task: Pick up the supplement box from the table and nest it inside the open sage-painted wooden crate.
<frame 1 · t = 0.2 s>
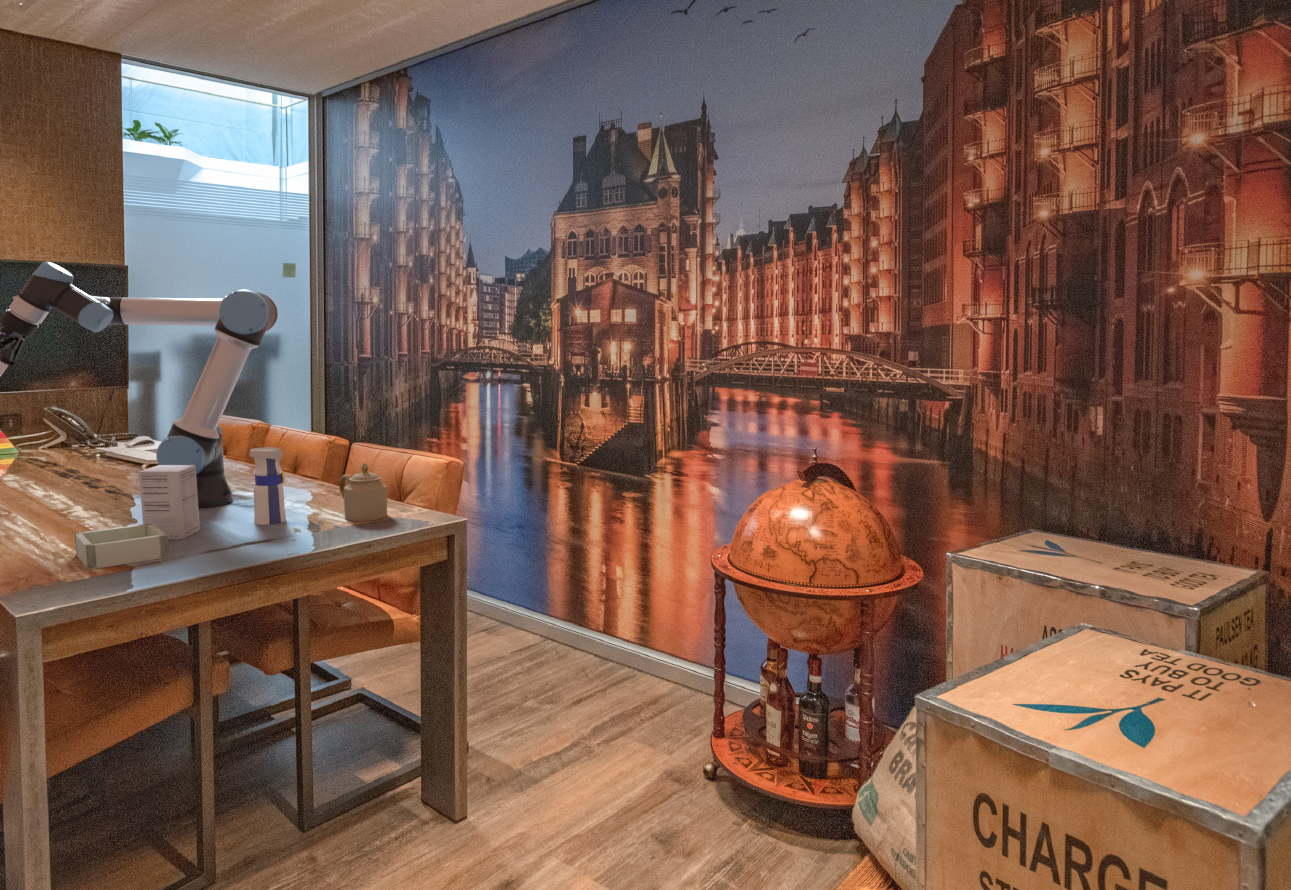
supplement box: (172, 535, 198), on the table
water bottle: (270, 521, 214), on the table
sugar bowl: (359, 517, 220), on the table
crate: (122, 556, 179), on the table
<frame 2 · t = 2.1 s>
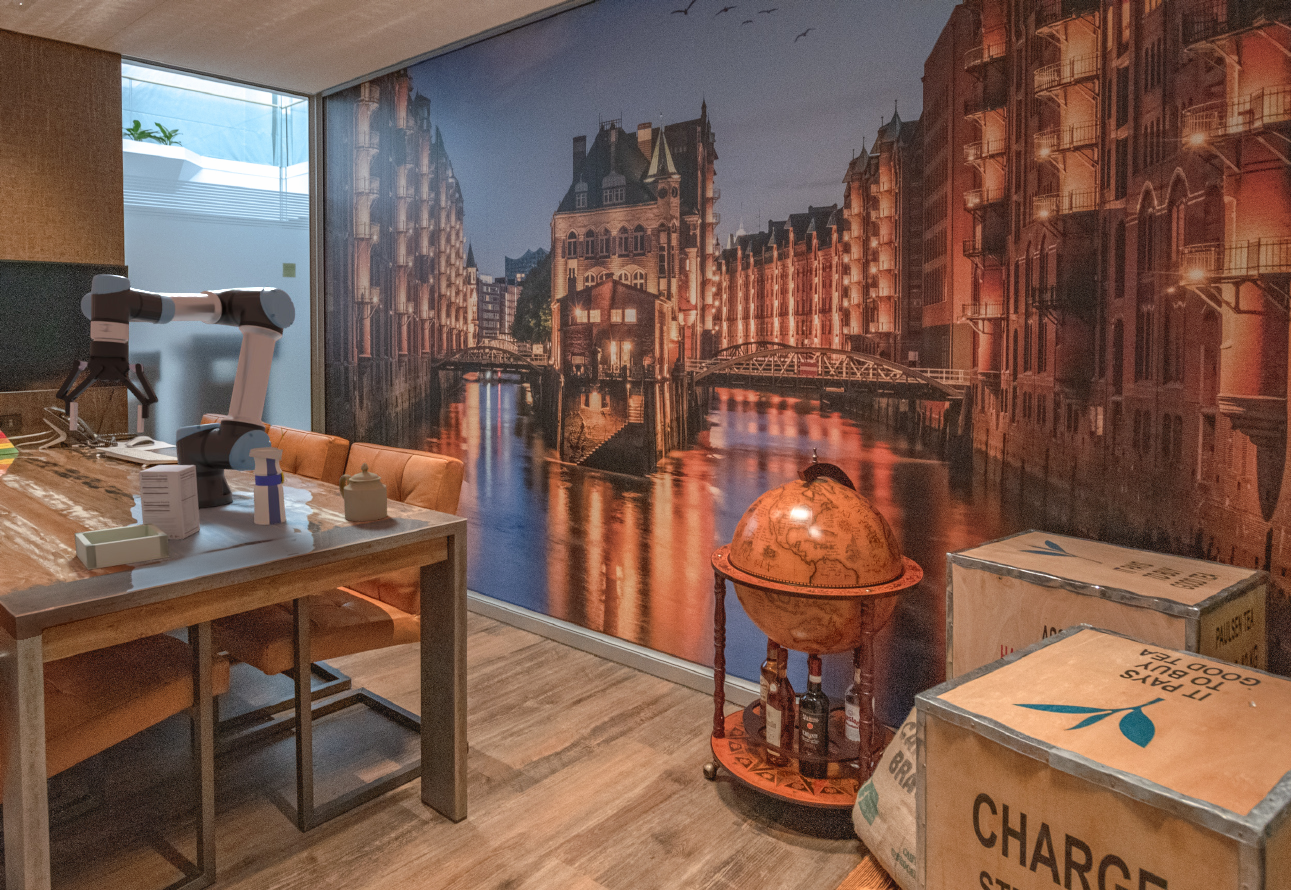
hand: (107, 431, 190), 26 cm above the table, tool pointing down, fingers open, 13 cm apart
nothing on the table moved.
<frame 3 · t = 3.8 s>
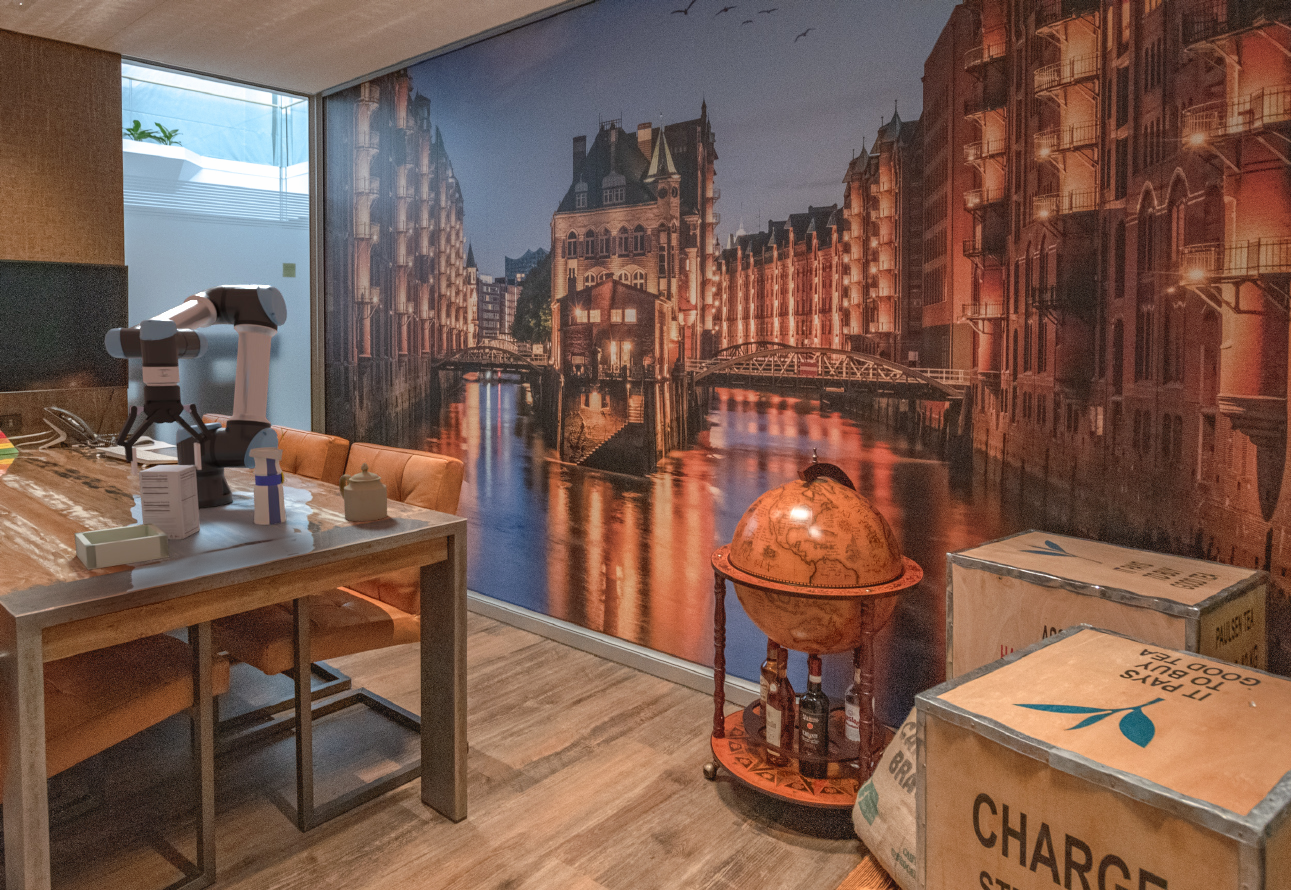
hand: (167, 472, 196), 16 cm above the table, tool pointing down, fingers open, 13 cm apart
supplement box: (172, 535, 198), on the table, touching gripper
everything else where it was.
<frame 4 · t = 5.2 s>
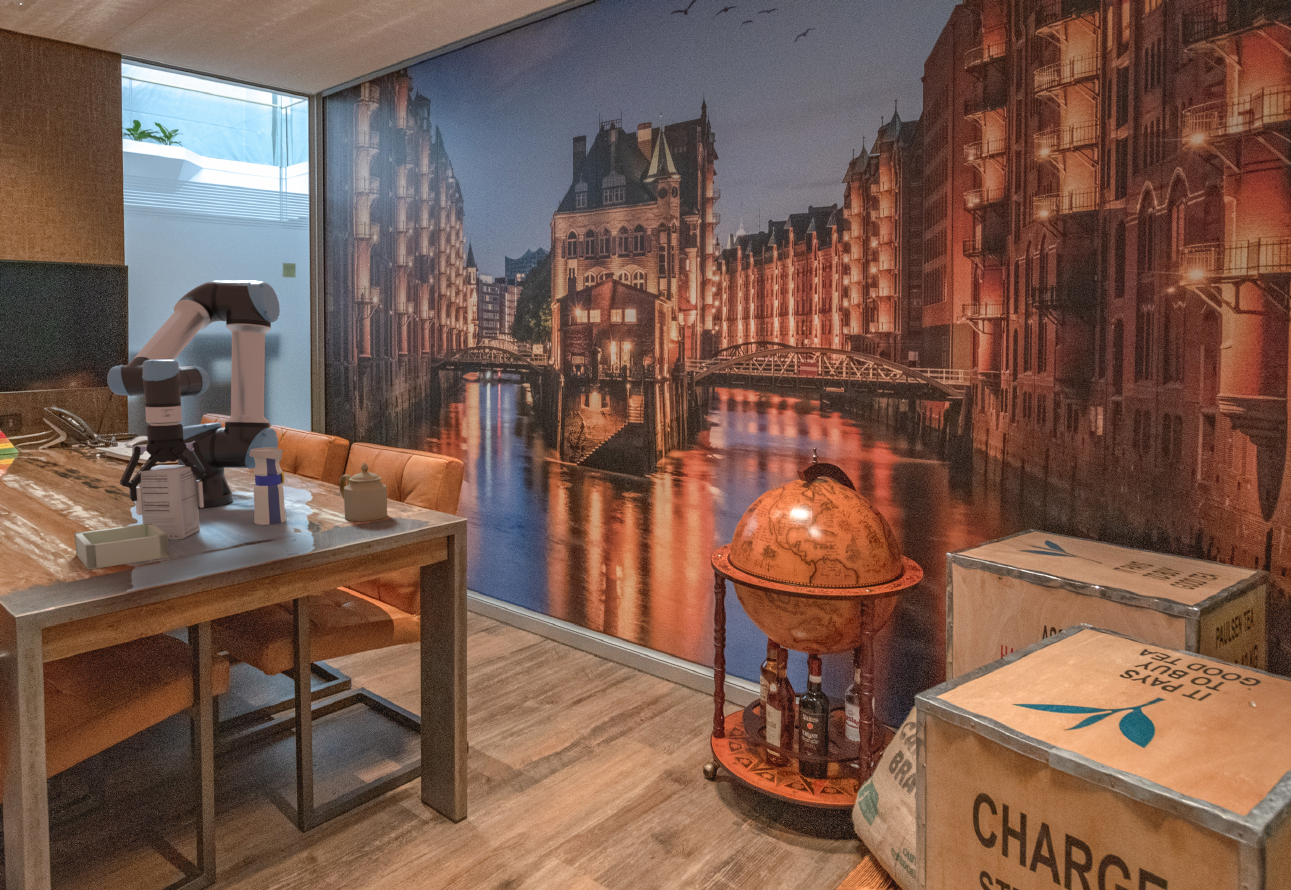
hand: (170, 510, 197), 6 cm above the table, tool pointing down, fingers closed on supplement box, 13 cm apart
supplement box: (172, 535, 198), on the table, touching gripper
everything else where it was.
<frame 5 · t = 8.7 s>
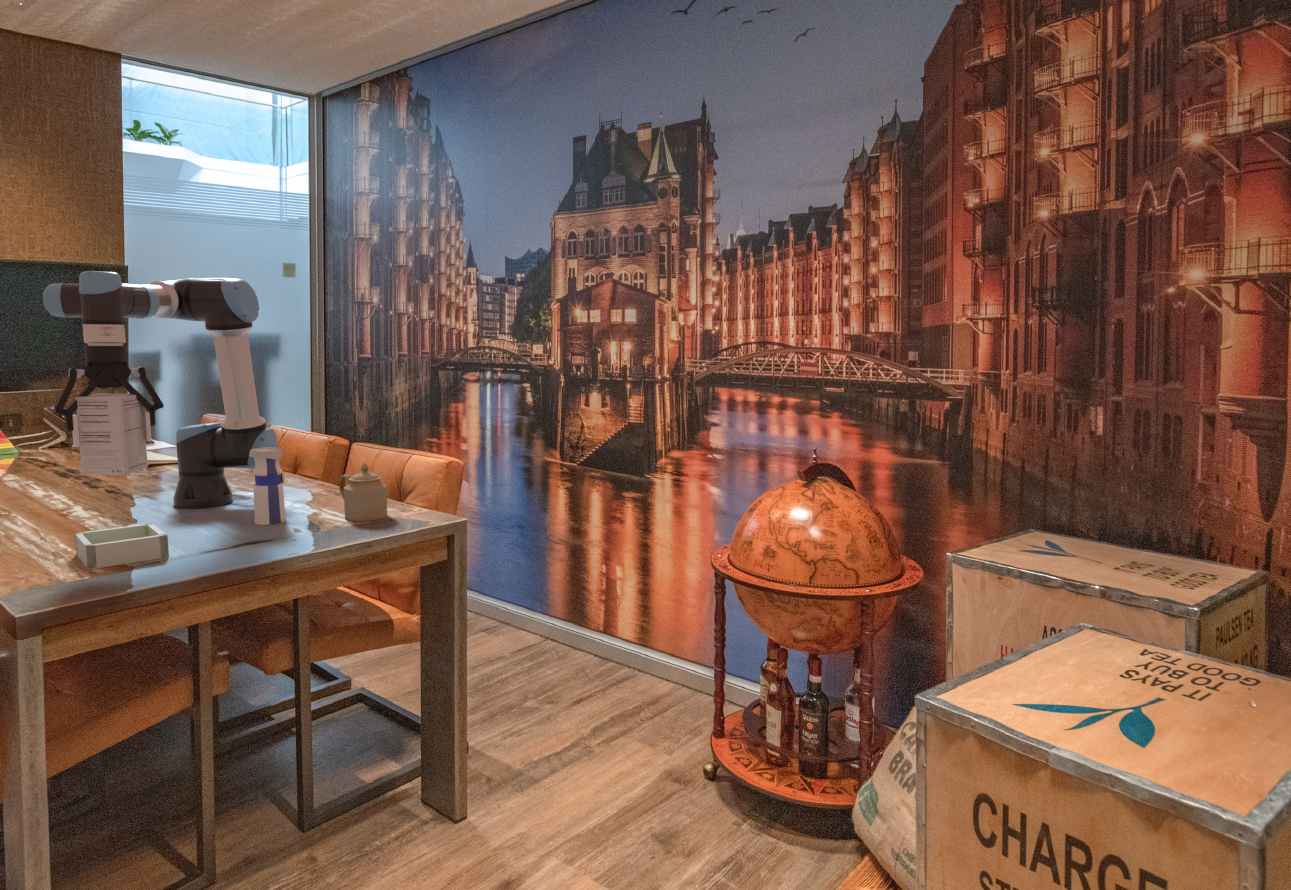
hand: (113, 443, 176), 25 cm above the table, tool pointing down, fingers closed on supplement box, 12 cm apart
supplement box: (115, 472, 177), point 19 cm above the table, touching gripper
everything else where it was.
when the fingers open (9 cm above the table, at t = 12.3 s): supplement box drops 1 cm, resting on crate.
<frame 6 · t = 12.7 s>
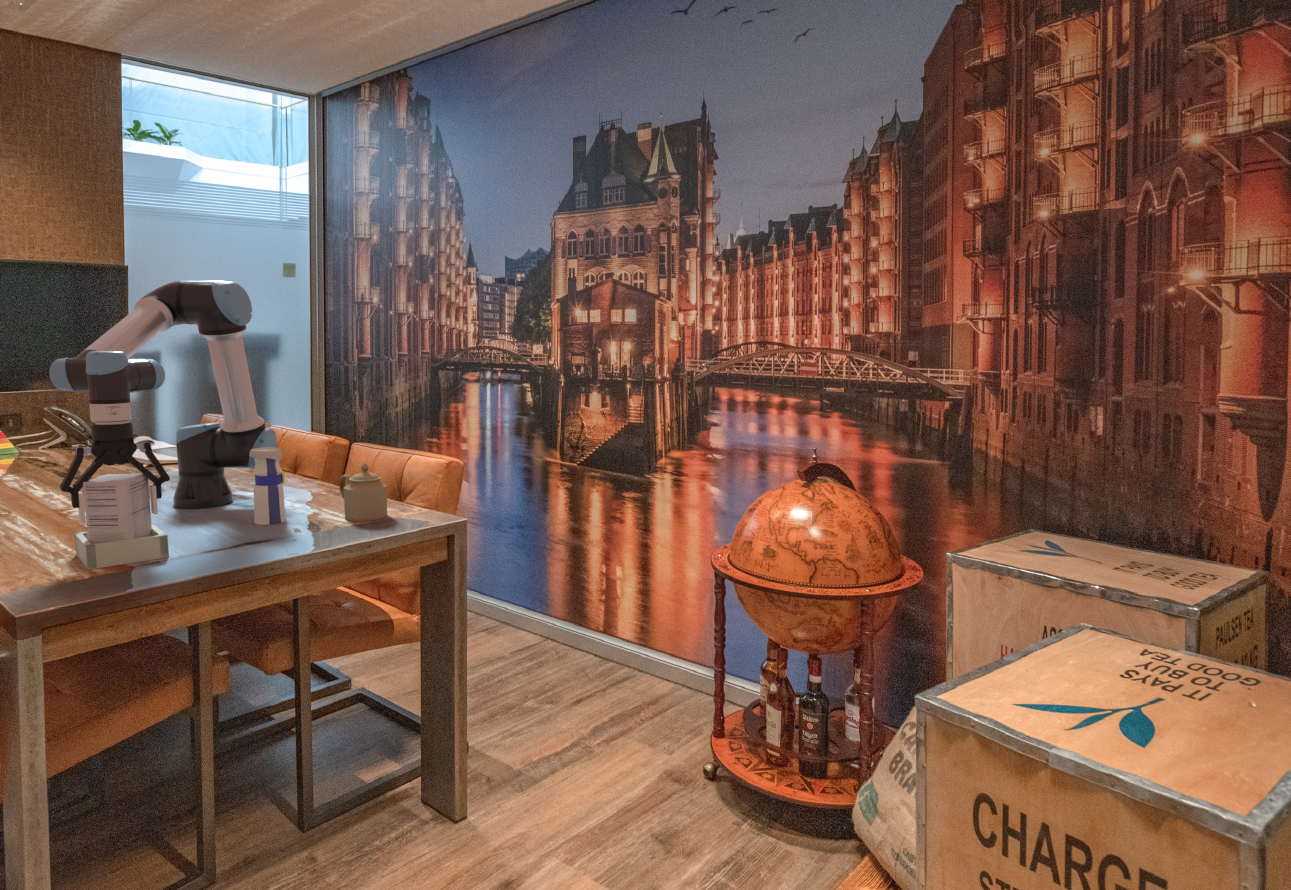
hand: (119, 517, 178), 9 cm above the table, tool pointing down, fingers open, 13 cm apart
supplement box: (122, 552, 179), point 1 cm above the table, touching crate
everything else where it was.
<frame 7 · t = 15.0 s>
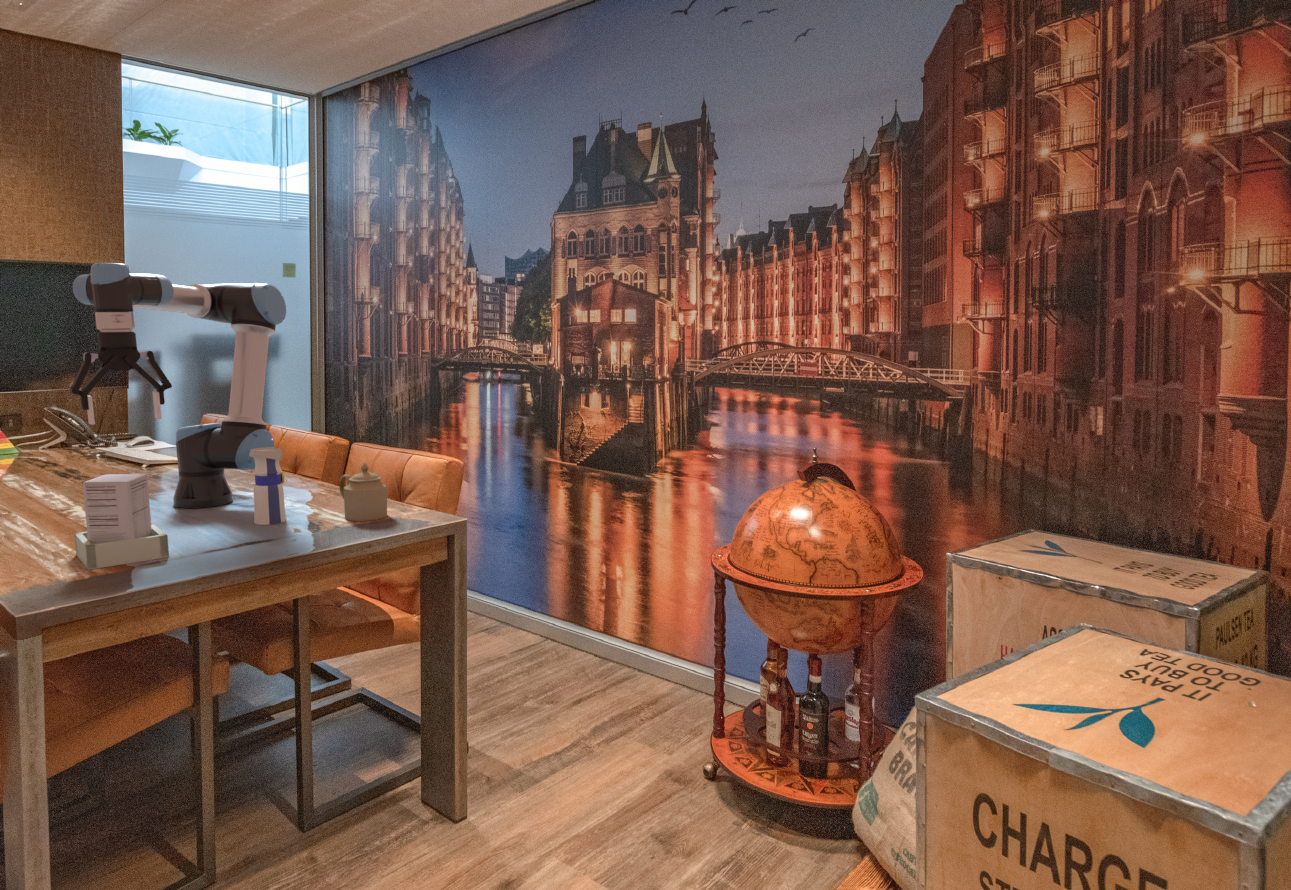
hand: (125, 421, 191), 28 cm above the table, tool pointing down, fingers open, 13 cm apart
nothing on the table moved.
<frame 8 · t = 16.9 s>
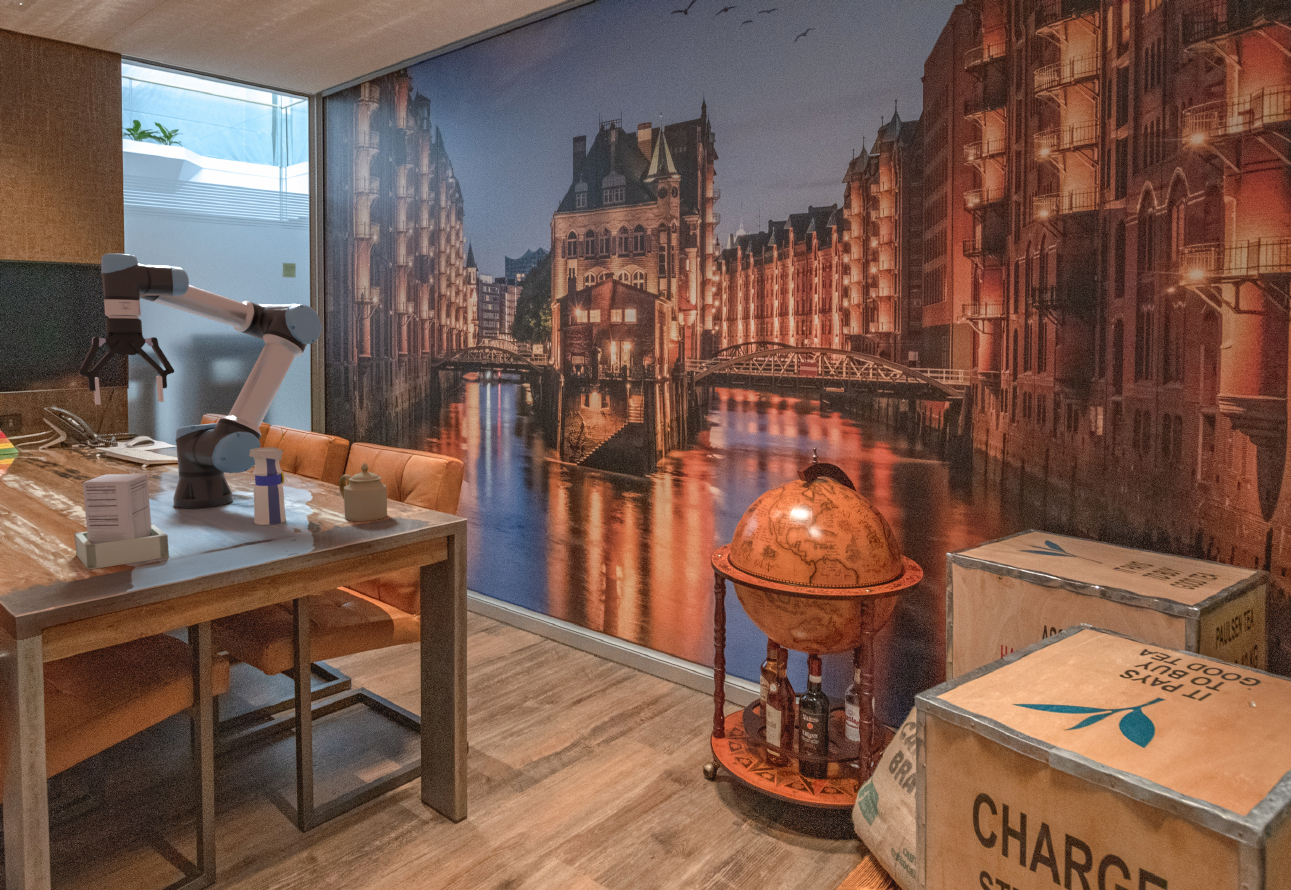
hand: (130, 402, 203), 32 cm above the table, tool pointing down, fingers open, 13 cm apart
nothing on the table moved.
at the end: supplement box inside the target area on the crate (0.1 cm from its centre), point 0.8 cm above the crate's base; supplement box tilted 0°; the gripper is holding nothing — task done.
